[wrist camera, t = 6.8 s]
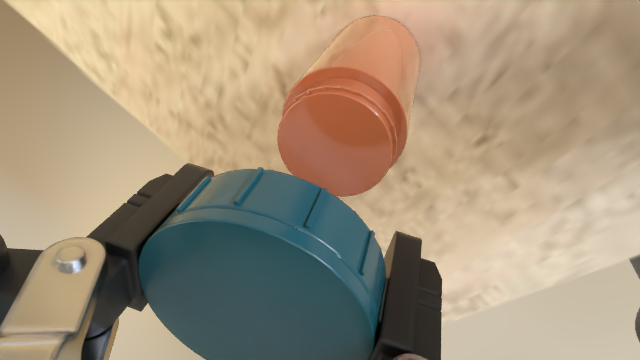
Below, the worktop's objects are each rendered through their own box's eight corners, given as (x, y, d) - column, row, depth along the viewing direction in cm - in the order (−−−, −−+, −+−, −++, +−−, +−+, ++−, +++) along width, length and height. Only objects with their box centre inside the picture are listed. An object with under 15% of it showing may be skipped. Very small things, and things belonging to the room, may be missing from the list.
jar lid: (178, 136, 9) (123, 183, 7) (418, 214, 8) (412, 281, 7) (184, 288, 12) (147, 342, 11) (356, 352, 12) (342, 417, 10)
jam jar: (439, 63, 22) (435, 156, 14) (373, 119, 25) (336, 224, 17) (375, -6, 21) (328, 48, 13) (314, 61, 24) (242, 141, 16)
